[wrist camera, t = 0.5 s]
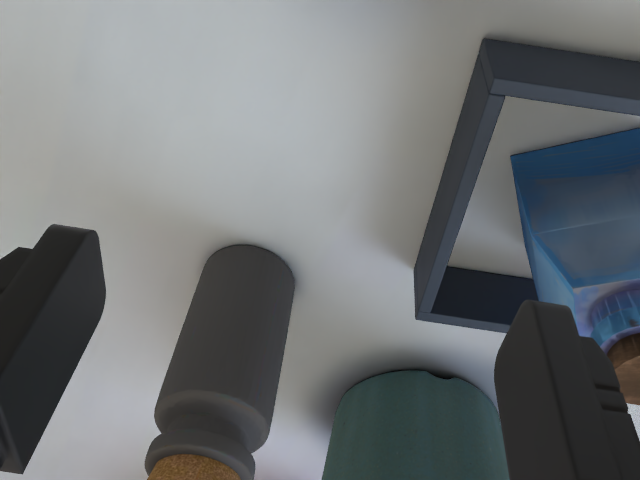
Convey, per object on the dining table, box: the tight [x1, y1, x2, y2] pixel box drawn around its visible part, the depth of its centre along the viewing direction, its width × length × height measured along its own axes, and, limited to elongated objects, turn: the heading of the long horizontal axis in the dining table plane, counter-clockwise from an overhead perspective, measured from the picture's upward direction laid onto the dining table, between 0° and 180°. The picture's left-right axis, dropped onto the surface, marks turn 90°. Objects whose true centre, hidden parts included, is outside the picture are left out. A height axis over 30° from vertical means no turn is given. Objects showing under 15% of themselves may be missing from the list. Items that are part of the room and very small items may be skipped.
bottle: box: [145, 246, 295, 480], centre depth 33 cm, size 6×6×15 cm
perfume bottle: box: [510, 128, 640, 405], centre depth 27 cm, size 6×6×12 cm
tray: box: [414, 39, 640, 333], centre depth 30 cm, size 14×14×4 cm
